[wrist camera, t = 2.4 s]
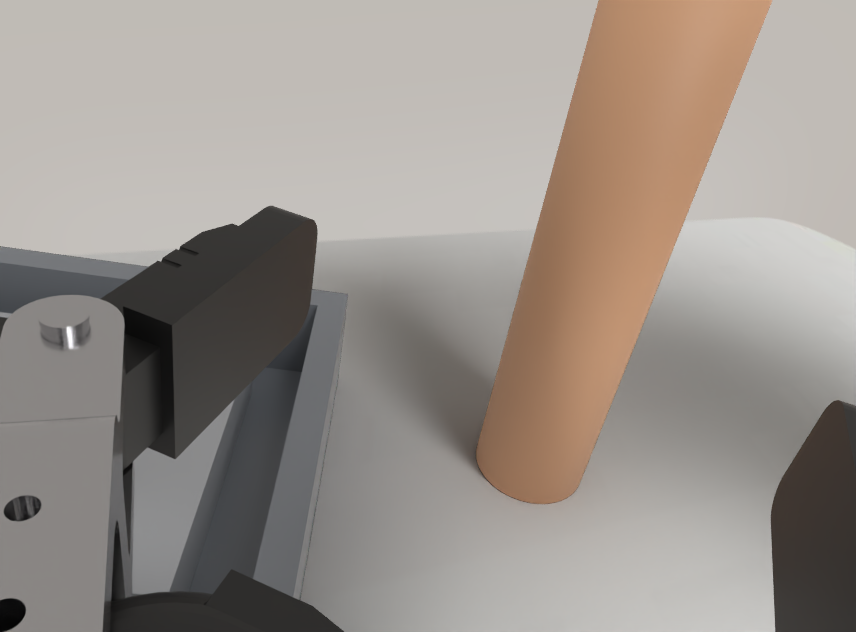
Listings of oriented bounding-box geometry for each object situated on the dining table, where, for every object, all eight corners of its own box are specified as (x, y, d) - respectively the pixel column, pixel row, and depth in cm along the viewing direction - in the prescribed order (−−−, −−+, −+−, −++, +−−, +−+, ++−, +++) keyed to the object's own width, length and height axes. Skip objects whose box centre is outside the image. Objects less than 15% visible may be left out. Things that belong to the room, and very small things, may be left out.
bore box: (338, 376, 30) (348, 294, 28) (269, 778, 18) (276, 689, 15) (-75, 322, 29) (-101, 232, 26) (-461, 716, 16) (-570, 610, 14)
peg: (572, 430, 30) (741, -28, 20) (589, 509, 26) (801, 6, 17) (473, 418, 29) (597, -54, 20) (478, 496, 26) (629, -24, 16)
